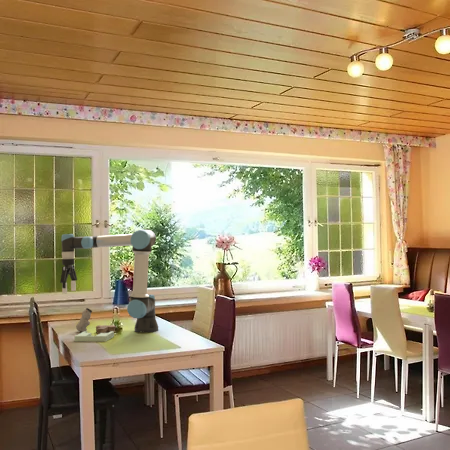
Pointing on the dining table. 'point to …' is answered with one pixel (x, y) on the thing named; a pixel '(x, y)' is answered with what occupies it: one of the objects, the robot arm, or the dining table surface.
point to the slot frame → (100, 337)
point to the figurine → (84, 320)
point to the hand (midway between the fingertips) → (69, 292)
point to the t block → (105, 328)
